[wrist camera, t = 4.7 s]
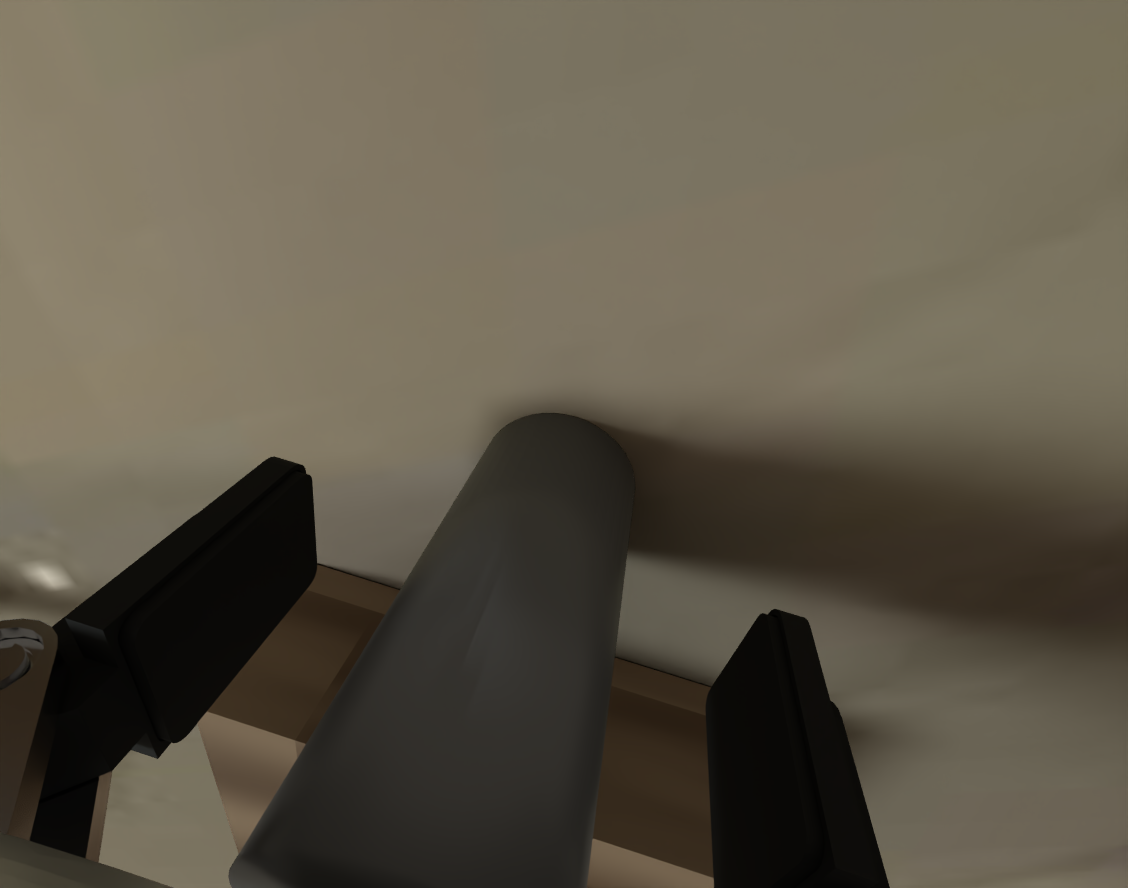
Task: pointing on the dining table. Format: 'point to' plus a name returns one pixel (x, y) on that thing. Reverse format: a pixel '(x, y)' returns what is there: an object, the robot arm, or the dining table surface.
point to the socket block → (630, 756)
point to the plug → (473, 691)
